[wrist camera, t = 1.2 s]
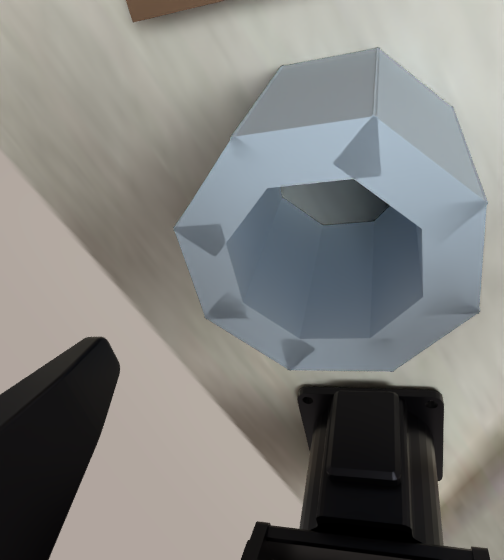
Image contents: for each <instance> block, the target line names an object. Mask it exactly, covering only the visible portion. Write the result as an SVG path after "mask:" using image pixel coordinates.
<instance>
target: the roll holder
mask: <svg viewBox="0 0 504 560" xmlns="http://www.w3.org/2000/svg"><path fill="white" fill-rule="evenodd" d="M220 1H224V0H126V2H127V5H128V9H129V12H130V15H131V18H132V21H133V22H137V21H141V20H145V19H150V18H154V17H158V16H162V15H166V14H170V13H174V12H179V11H183V10H187V9H191V8H195V7H199V6H203V5H208V4H212V3H216V2H220Z"/></svg>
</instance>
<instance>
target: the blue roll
mask: <svg viewBox="0 0 504 560" xmlns="http://www.w3.org/2000/svg"><path fill="white" fill-rule="evenodd" d="M230 138H231V140H230V141H229V143H228V144H227V146H226V147H225V149H224V151H223V152H222V154H221V155H220V157H219V159H218V160H217V162H216V163H215V165H214V166H213V168H212V170H211V171H210V173H209V174H208V176H207V178H206V179H205V181H204V182H203V184H202V185H201V187H200V189H199V190H198V192H197V193H196V195H195V197H194V198H193V200H192V201H191V203H190V204H189V206H188V207H187V209H186V210H185V211H184V213H183V214H182V216H181V217H180V219H179V220H178V222H177V223H176V225H175V226H174V227H173V228H174V231H175V233H176V236H177V239H178V242H179V245H180V248H181V250H182V253H183V256H184V259H185V262H186V264H187V267H188V270H189V273H190V276H191V278H192V281H193V284H194V287H195V290H196V293H197V295H198V298H199V301H200V304H201V307H202V309H203V312H204V315H205V318H206V319H208V320H209V321H211V322H213V323H214V324H216V325H217V326H219V327H221V328H222V329H224V330H226V331H227V332H229V333H230V334H232V335H234V336H235V337H237V338H238V339H240V340H242V341H243V342H245V343H246V344H248V345H250V346H251V347H253V348H255V349H256V350H258V351H259V352H261V353H263V354H264V355H266V356H267V357H269V358H271V359H272V360H274V361H276V362H277V363H279V364H280V365H282V366H284V367H285V368H287V369H288V370H290V371H291V370H327V371H390V372H393V371H394V370H395V369H397V368H398V367H400V366H401V365H403V364H404V363H406V362H407V361H409V360H410V359H412V358H413V357H414V356H416V355H417V354H419V353H420V352H422V351H423V350H425V349H426V348H428V347H429V346H431V345H432V344H433V343H435V342H436V341H438V340H439V339H441V338H442V337H444V336H445V335H447V334H448V333H450V332H451V331H452V330H454V329H455V328H457V327H458V326H460V325H461V324H463V323H464V322H466V321H467V320H469V319H470V318H471V317H473V316H474V315H476V314H479V312H480V307H479V305H480V291H481V277H482V263H483V248H484V234H485V220H486V206H487V204H488V201H487V199H486V196H485V193H484V190H483V188H482V185H481V182H480V179H479V177H478V174H477V171H476V168H475V166H474V163H473V160H472V157H471V155H470V152H469V149H468V146H467V144H466V141H465V138H464V135H463V133H462V130H461V127H460V124H459V122H458V119H457V116H456V113H455V111H454V108H453V106H450V105H449V104H448V103H446V102H445V101H444V100H443V99H441V98H440V97H439V96H438V95H436V94H435V93H434V92H433V91H431V90H430V89H429V88H428V87H426V86H425V85H424V84H423V83H421V82H420V81H419V80H418V79H416V78H415V77H414V76H413V75H412V74H410V73H409V72H408V71H407V70H405V69H404V68H403V67H402V66H400V65H399V64H398V63H397V62H395V61H394V60H393V59H392V58H390V57H389V56H388V55H387V54H385V53H384V52H383V51H382V50H380V48H378V47H377V48H375V49H370V50H365V51H359V52H354V53H349V54H343V55H338V56H333V57H327V58H322V59H317V60H311V61H306V62H301V63H295V64H290V65H285V66H284V65H282V66H281V67H280V68H279V70H278V71H277V72H276V74H275V75H274V77H273V78H272V79H271V81H270V82H269V84H268V85H267V86H266V88H265V89H264V91H263V92H262V93H261V95H260V96H259V98H258V99H257V100H256V102H255V103H254V105H253V106H252V107H251V109H250V110H249V112H248V113H247V114H246V116H245V117H244V119H243V120H242V121H241V123H240V124H239V126H238V127H237V128H236V130H235V131H234V133H233V134H232V135H231V137H230ZM348 179H354V180H356V181H357V182H359V183H360V184H361V185H363V186H364V187H365V188H367V189H368V190H370V191H371V192H372V193H374V194H375V195H376V196H378V197H379V198H380V199H382V200H383V201H385V202H386V203H387V204H389V205H390V206H389V207H388V208H387V209H386V210H385V211H384V212H383V213H382V214H381V215H380V216H379V217H378V218H377V219H376V220H375V221H372V222H360V223H347V224H334V225H321V224H320V223H319V222H317V221H316V220H314V219H313V218H311V217H310V216H309V215H307V214H306V213H304V212H303V211H301V210H300V209H299V208H297V207H296V206H294V205H293V204H291V203H290V202H289V201H287V200H286V199H284V198H283V197H282V193H281V188H280V187H283V186H293V185H302V184H311V183H321V182H330V181H339V180H348Z"/></svg>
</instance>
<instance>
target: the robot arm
mask: <svg viewBox="0 0 504 560" xmlns="http://www.w3.org/2000/svg"><path fill="white" fill-rule="evenodd" d="M119 373H120V365H119V362H118V360H117V357H116V356H115V354H114V352H113V350H112V348H111V346H110V344H109V342H108V341H107V340H106V339H105V338H103V337H87V338H85V339H83V340H82V341H80V342H78V343H77V344H75V345H74V346H73V347H71V348H70V349H68V350H66V351H65V352H63V353H62V354H60V355H59V356H57V357H56V358H54V359H53V360H51V361H50V362H49V363H47V364H45V365H44V366H43V367H41V368H39V369H38V370H36V371H35V372H34V373H32V374H31V375H29V376H28V377H26V378H24V379H23V380H21V381H20V382H19V383H17V384H16V385H14V386H13V387H11V388H10V389H8V390H7V391H5V392H4V393H2V394H1V395H0V560H49V557H50V555H51V552H52V550H53V547H54V545H55V543H56V540H57V538H58V536H59V533H60V531H61V528H62V526H63V524H64V521H65V519H66V517H67V514H68V512H69V509H70V507H71V505H72V502H73V500H74V498H75V495H76V493H77V490H78V488H79V485H80V483H81V481H82V478H83V476H84V474H85V471H86V469H87V466H88V464H89V462H90V459H91V457H92V454H93V452H94V450H95V447H96V445H97V442H98V440H99V437H100V435H101V432H102V429H103V426H104V423H105V419H106V416H107V413H108V409H109V406H110V403H111V400H112V396H113V393H114V390H115V387H116V384H117V380H118V377H119ZM297 400H298V404H299V409H300V413H301V417H302V421H303V425H304V429H305V433H306V437H307V442H308V446H309V450H310V457H309V465H308V472H307V479H306V486H305V493H304V500H303V507H302V515H301V521H300V529H295V528H287V527H279V526H271V525H270V523H266V522H256V524H255V527H254V530H253V533H252V535H251V538H250V540H248V541H247V544H246V547H245V549H244V552H243V555H242V558H241V560H490V557H489V552H488V549H487V548H480V547H471V549H465V548H456V547H448V546H444V545H443V534H442V524H441V513H440V502H439V492H438V481H440V480H441V479H442V476H443V423H444V402H443V396H442V394H441V393H440V392H437V391H434V390H412V389H373V388H333V387H303V388H301V389H300V390H299V392H298V399H297Z"/></svg>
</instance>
